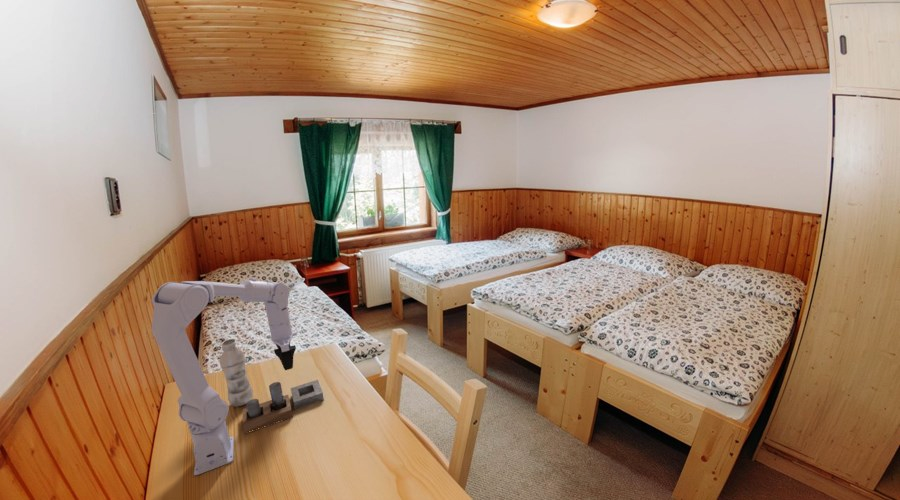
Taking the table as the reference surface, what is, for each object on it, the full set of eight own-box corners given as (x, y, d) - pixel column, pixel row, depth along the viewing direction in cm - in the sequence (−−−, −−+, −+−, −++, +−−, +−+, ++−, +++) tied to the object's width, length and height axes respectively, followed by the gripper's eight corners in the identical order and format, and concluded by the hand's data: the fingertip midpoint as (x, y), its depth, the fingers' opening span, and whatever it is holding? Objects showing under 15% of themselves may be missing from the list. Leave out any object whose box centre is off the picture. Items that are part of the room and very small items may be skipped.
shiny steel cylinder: (287, 413, 107) (281, 385, 105) (275, 417, 106) (269, 389, 103) (285, 408, 110) (279, 380, 107) (274, 412, 108) (268, 384, 106)
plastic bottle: (258, 395, 116) (246, 336, 111) (244, 410, 110) (231, 348, 105) (239, 395, 117) (226, 336, 112) (224, 409, 111) (210, 347, 106)
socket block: (323, 400, 112) (322, 392, 111) (295, 409, 108) (293, 402, 108) (319, 386, 119) (317, 379, 118) (291, 395, 115) (290, 388, 115)
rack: (292, 417, 105) (289, 398, 104) (244, 434, 100) (240, 414, 98) (289, 401, 112) (286, 384, 111) (244, 416, 107) (240, 398, 105)
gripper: (297, 326, 106) (304, 369, 109) (291, 310, 118) (298, 349, 122) (269, 333, 103) (278, 377, 106) (266, 315, 115) (274, 355, 119)
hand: (287, 363), depth 114 cm, fingers open, 7 cm apart
